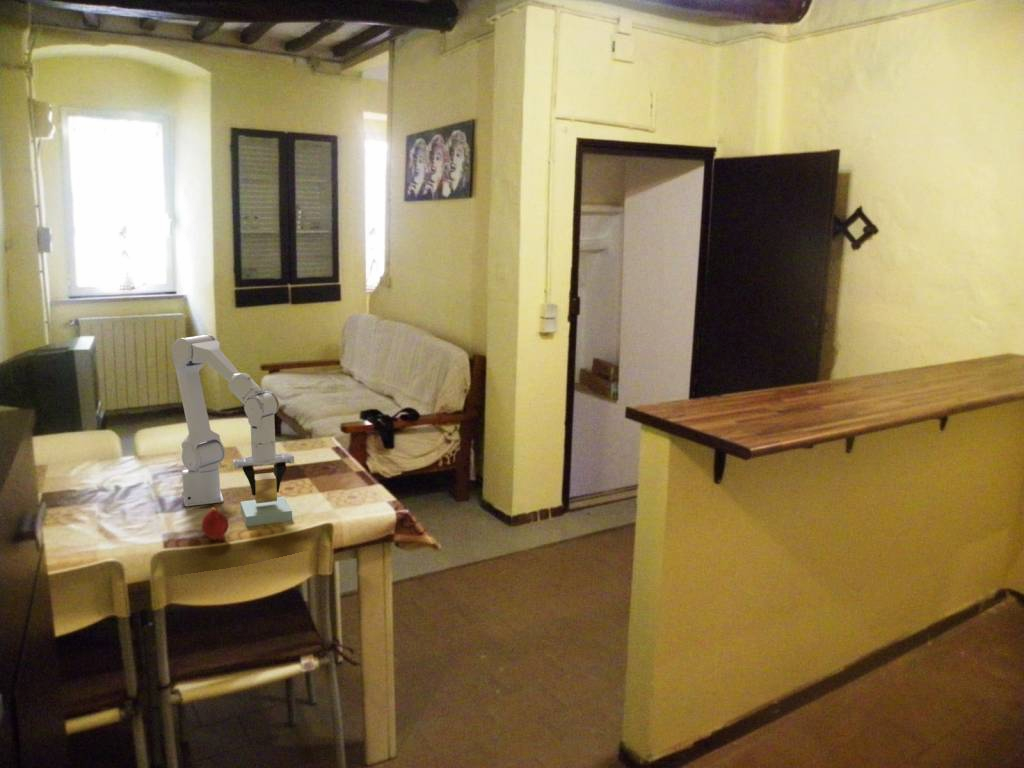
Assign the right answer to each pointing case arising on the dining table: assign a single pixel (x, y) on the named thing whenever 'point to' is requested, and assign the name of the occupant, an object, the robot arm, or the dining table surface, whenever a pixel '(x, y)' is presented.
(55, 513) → the dining table surface
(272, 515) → the base block
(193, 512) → the dining table surface
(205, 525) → the onion
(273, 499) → the ochre block
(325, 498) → the dining table surface
